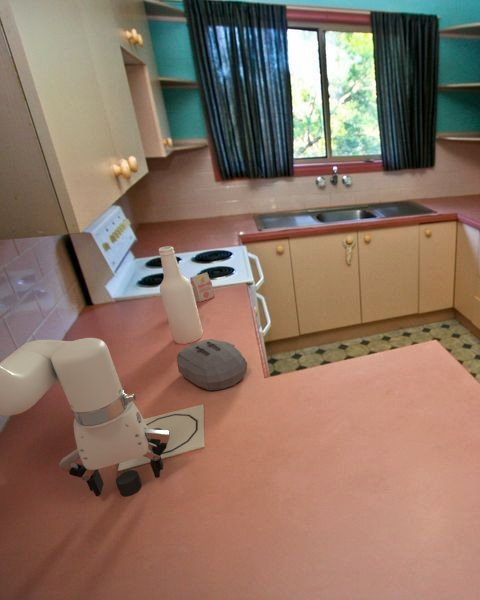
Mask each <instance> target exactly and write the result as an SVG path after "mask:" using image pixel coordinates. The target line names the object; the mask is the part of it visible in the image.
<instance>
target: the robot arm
mask: <svg viewBox="0 0 480 600" xmlns="http://www.w3.org/2000/svg"><path fill="white" fill-rule="evenodd" d="M120 381H121V380H120V378H119V375H118V373H117V370H116V367H115V364H114V361H113V359H112V355H111V353H110V350H109V348H108V345H107V343H106V342H105V341H103V340H102V339H100V338H96V337H84V338H79V339H75V340H55V339H35V340H31V341H29V342H26V343H24V344H23V345H21V346H20V347H18V348H17V349H15V351H13V352H12V353H11V354H9V355H8V356H6V357H5V358H4V359H3V360H1V362H0V416H3V417H4V416H5V417H7V416H8V417H11V416H16V415H19V414H22V413H25V412H26V411H28V410H29V409H31V408H32V407H34V405H36V404H37V402H38V401H40V399H42V398H43V396H44V395H45V394H46V393H47V392H48V391H49V390H50V389H51V388H52V387H54V386H56V385H57V384H58V383H60V386H61V388H62V391H63V392H64V395H65V398H66V400H67V402H68V404H69V407H70V409H71V412H72V414H73V416H74V419H73V423H72V424H73V433H74V439H75V444H76V449H74V450H72V452H70V453H69V454H67V455H66V456H64V457H63V458H62V459H61V460H60V461H59V464H58V467H59V468H60V469H61V470H63V471H65V472H68V474H69V475H70V476H72V477H77V478H81V481H83V482H86V484H87V486H88V489H89V490H90V491H93V493H94V495H95V497H99V496H100V495H102V492H103V489H104V480H103V479H102V476H101V474H100V471H99V470H101V469H104V468H108V467H110V466H114V465H119V463H122V462H125V461H129V460H132V459H135V458H139V457H141V456H144V457H146V458H149V459H151V461H150V463H149V464H150V467H151V470H152V472H153V475H154V478H156V479H158V478H161V472H162V470H164V462H163V459H161V456H160V455H161V454H162V453H163V451H164V450H165V449H166V447H167V443H168V441H169V438H170V431H166V430H155V429H148V428H147V426H146V423H145V421H144V419H145V418H143V415H142V414H141V412H140V410H139V409H138V407H137V405H135V403H134V402H135V401H136V395H135V393H127V392H126V391H125V389H123V386H122V383H121V382H120ZM151 439H159V440H161V441H160V442H159V443H158V444H157V445H155V444H153V443H150V442H148V441H150V440H151ZM79 459H80V461H81V463H82V464H81V463H75V462H76V461H77V460H79Z"/></svg>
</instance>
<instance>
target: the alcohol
mask: <svg viewBox="0 0 480 600" xmlns="http://www.w3.org/2000/svg"><path fill="white" fill-rule="evenodd" d="M174 248H175V247H173V246H171V245H167V246H162V247H159V248H158V252H159V253H158V254H159V256H160V261H161V267H162V273H163V279H162V281H161V282H160V285H159V293H160V297H161V300H162V305H163V309H164V312H165V314H166V319H167V322H168V327H169V330H170V333H171V337H172V340H173V342H175V343H176V344H178V345H188V344H192V343H196V342H197V341H199V340H201V339H202V337H203V334H204V330H203V326H202V322H201V317H200V314H199V310H198V307H197V306H198V305H197V302H196V301H195V297H194V293H193V289H192V285H191V283H190V280H189V279H188V278H187V277H185V276H184V275H183V273H182V271H181V269H180V266H179V263H178V260H177V257H176V255H175V253H176V252H175V249H174Z"/></svg>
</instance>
